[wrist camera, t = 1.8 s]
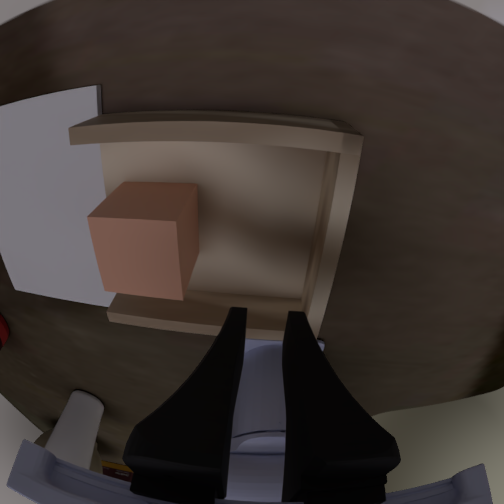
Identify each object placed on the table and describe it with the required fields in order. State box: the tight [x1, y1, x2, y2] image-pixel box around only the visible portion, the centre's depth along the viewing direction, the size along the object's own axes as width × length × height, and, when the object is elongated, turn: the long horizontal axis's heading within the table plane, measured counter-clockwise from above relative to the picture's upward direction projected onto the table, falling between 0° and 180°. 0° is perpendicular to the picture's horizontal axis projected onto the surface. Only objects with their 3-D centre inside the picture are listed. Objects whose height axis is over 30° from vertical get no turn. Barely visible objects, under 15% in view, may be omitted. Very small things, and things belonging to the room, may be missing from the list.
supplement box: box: [101, 460, 133, 482], centre depth 55 cm, size 10×15×16 cm
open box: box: [68, 110, 364, 341], centre depth 19 cm, size 14×15×4 cm
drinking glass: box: [44, 390, 104, 470], centre depth 31 cm, size 7×7×15 cm
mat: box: [0, 85, 116, 307], centre depth 21 cm, size 18×14×1 cm
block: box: [87, 182, 199, 301], centre depth 18 cm, size 5×5×5 cm
